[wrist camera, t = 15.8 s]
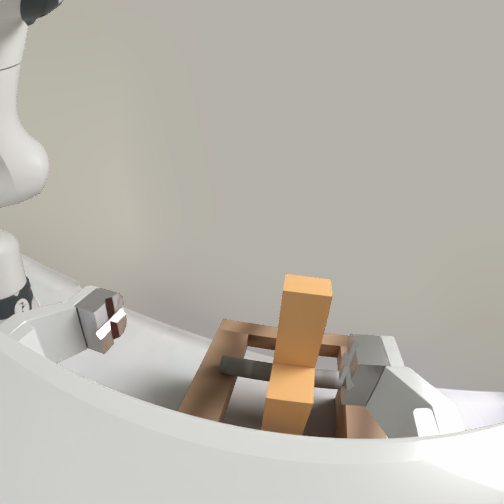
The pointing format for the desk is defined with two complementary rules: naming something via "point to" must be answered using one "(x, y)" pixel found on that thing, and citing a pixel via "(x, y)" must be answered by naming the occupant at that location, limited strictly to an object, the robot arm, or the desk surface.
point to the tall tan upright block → (296, 353)
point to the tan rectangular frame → (266, 377)
